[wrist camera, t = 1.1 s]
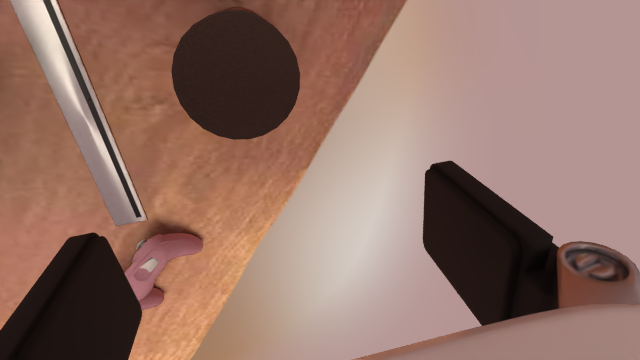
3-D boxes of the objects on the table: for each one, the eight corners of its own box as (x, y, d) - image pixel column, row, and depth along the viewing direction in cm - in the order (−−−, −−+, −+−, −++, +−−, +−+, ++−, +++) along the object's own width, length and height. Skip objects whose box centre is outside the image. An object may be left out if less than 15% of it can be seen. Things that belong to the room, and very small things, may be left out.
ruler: (-4, -30, 24) (-6, -31, 24) (42, -35, 25) (41, -35, 24) (116, 225, 35) (115, 226, 34) (147, 219, 35) (147, 220, 35)
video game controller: (177, 214, 37) (132, 236, 30) (210, 241, 37) (172, 269, 30) (133, 276, 39) (82, 310, 33) (163, 302, 39) (119, 341, 33)
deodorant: (285, 27, 30) (320, 47, 16) (259, 91, 32) (273, 155, 18) (216, -7, 27) (194, -16, 14) (194, 64, 29) (156, 114, 16)
